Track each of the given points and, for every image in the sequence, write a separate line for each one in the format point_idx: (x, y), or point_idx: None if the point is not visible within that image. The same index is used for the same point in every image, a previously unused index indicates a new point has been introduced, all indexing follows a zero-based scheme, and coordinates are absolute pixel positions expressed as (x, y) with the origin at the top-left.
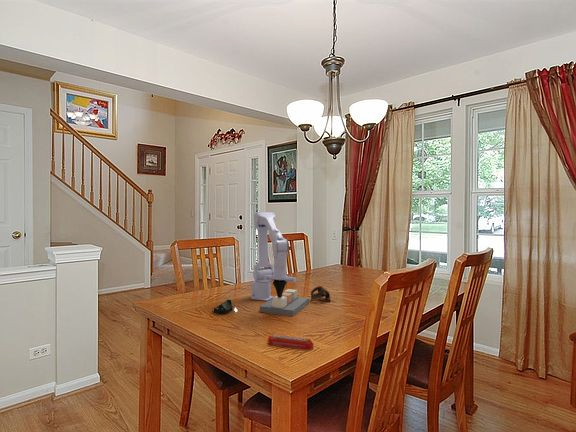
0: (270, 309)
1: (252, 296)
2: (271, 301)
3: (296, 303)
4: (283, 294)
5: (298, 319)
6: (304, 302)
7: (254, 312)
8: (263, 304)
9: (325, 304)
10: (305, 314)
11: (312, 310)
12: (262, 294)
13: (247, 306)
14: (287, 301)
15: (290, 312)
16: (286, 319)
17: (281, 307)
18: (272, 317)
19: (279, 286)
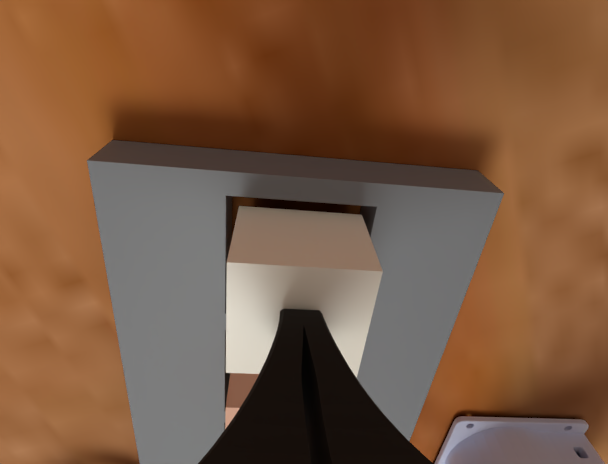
0: (370, 174)
1: (580, 441)
2: (409, 354)
3: (172, 368)
4: None
5: (8, 57)
6: (134, 415)
7: (526, 137)
8: (470, 258)
9: (37, 460)
10: (37, 230)
11: (45, 336)
12: (515, 461)
13: (603, 274)
14: None
15: (132, 154)
16: (129, 10)
17: (253, 211)
18: (304, 32)
19: (283, 436)
